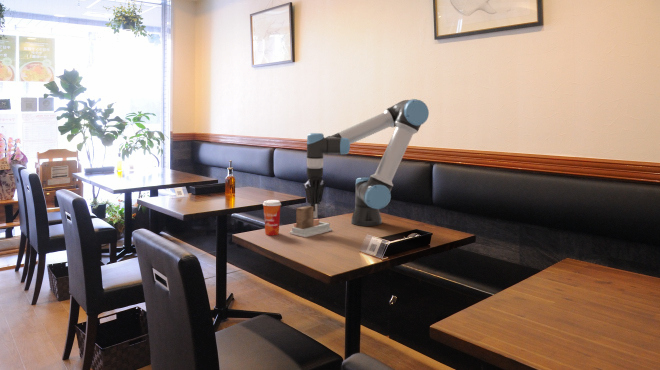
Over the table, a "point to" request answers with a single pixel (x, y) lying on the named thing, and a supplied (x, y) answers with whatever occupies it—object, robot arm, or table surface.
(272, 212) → the coffee cup
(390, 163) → the robot arm
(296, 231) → the white rectangular tray
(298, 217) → the brown rectangular block
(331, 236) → the table surface
